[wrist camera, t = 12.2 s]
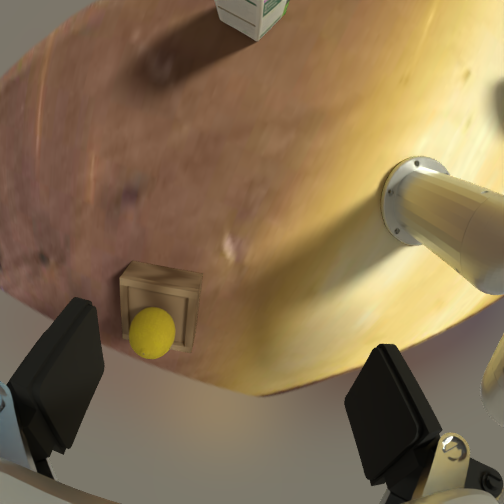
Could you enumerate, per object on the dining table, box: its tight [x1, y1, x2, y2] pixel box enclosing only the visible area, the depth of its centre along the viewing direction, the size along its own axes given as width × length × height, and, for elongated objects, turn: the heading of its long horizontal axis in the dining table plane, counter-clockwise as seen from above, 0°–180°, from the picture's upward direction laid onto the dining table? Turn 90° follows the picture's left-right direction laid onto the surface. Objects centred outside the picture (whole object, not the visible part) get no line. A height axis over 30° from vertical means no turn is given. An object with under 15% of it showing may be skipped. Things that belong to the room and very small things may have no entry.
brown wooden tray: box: [120, 261, 203, 353], centre depth 38 cm, size 10×10×5 cm
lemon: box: [129, 307, 175, 359], centre depth 33 cm, size 6×6×8 cm
